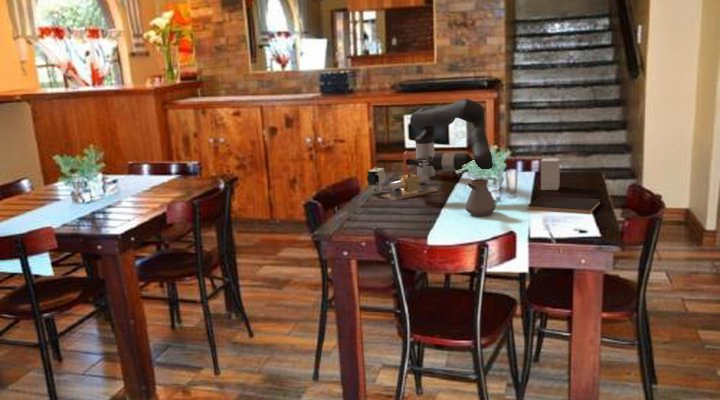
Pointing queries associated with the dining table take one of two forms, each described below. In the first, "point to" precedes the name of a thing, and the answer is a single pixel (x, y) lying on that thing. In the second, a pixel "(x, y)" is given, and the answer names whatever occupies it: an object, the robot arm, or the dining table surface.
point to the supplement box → (550, 174)
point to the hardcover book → (564, 204)
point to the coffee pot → (479, 199)
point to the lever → (406, 167)
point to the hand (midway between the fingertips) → (407, 161)
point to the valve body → (409, 187)
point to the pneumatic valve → (376, 178)
